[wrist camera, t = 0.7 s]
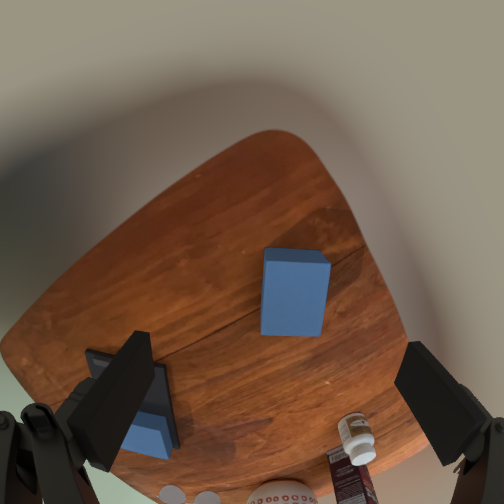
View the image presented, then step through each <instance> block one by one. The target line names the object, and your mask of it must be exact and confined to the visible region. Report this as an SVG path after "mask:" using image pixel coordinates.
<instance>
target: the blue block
mask: <svg viewBox="0 0 504 504" xmlns="http://www.w3.org/2000/svg"><path fill="white" fill-rule="evenodd" d="M330 269H331V263H330V262H329V261H328V260H327V259H326V258H325V257H324V255H323V254H322V253H321V252H320V251H319V250H305V249H287V248H269V247H265V252H264V268H263V283H262V298H261V335H276V336H320V334H321V329H322V323H323V317H324V311H325V304H326V298H327V291H328V284H329V277H330Z"/></svg>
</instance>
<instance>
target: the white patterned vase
mask: <svg viewBox="0 0 504 504" xmlns="http://www.w3.org/2000/svg"><path fill="white" fill-rule="evenodd" d="M247 504H318V502H317V498H316V496H315V494H314V493H313V491H312V490H311V489H310V488H308V487H307V486H306V485H304V484H302V483H301V482H299V481H296V480H291V479H279V480H273V481H269V482H266V483H263V484H262V485H260V486H259V487H258V488H257V489H256V490H255V491H254V492H253V493H252V494H251V495H250V497H249V498H248V501H247Z"/></svg>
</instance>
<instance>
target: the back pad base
mask: <svg viewBox="0 0 504 504" xmlns="http://www.w3.org/2000/svg"><path fill="white" fill-rule="evenodd" d="M85 355H86V359H87V362H88V366H89V369H90V372H91V375H92V378H93V379H96V380H97V379H98V377H99V376H100V375H101V373H102V372H103V371H104V369H105V368H106V367H107V366H108V364H109V363H110V362H111V360H112V359H113V358H114V356H115V355H110V354H106V353H102V352H97V351H93V350H89V349H87V350H86V351H85ZM153 365H154V372H155V378H154V380H153V382H152V384H151V386H150V388H149V390H148V392H147V394H146V396H145V398H144V400H143V402H142V404H141V406H140V408H139V410H138V412H137V414H136V416H135V418H134V420H133V422H132V424H131V426H130V428H129V431H128V433H127V435H126V437H125V439H124V441H123V443H122V445H121V447H120V448H123V449H126V450H130V451H133V452H137V453H141V454H145V455H149V456H153V457H158V458H162V459H167V460H169V457H170V454H171V451H172V448H176V449H179V448H180V443H179V439H178V434H177V430H176V425H175V420H174V415H173V409H172V404H171V398H170V392H169V386H168V380H167V373H166V366H165V365H164V364H158V363H153Z"/></svg>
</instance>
